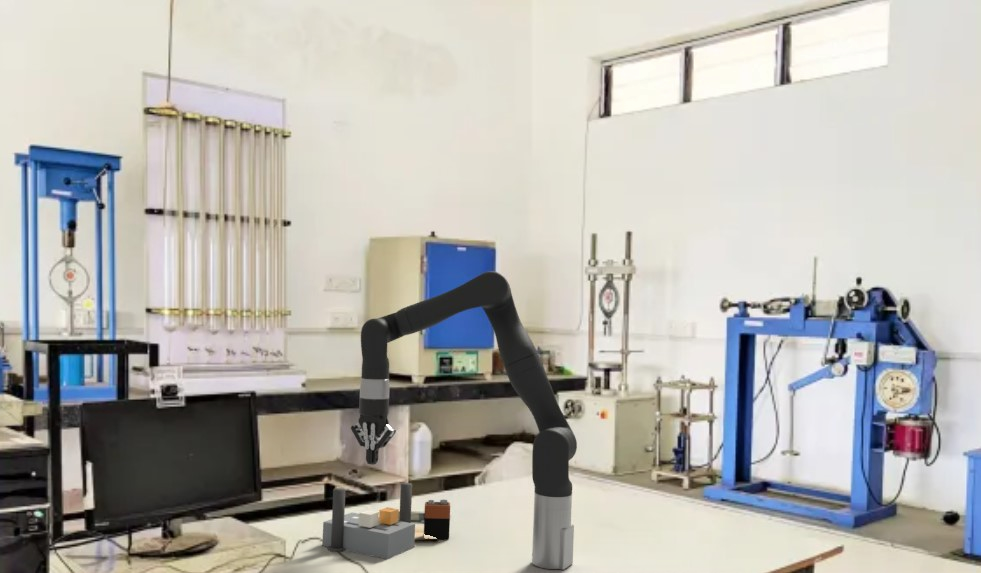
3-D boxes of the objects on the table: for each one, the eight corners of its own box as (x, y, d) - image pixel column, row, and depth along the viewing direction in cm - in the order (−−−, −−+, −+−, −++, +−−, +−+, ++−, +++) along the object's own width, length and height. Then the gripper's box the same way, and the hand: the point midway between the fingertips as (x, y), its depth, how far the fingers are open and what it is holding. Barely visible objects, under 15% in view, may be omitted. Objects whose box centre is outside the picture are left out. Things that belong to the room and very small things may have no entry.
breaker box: (414, 547, 214) (415, 523, 214) (387, 559, 204) (388, 533, 204) (351, 535, 223) (352, 512, 224) (322, 545, 213) (323, 521, 213)
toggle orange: (398, 521, 214) (398, 509, 214) (390, 524, 211) (390, 512, 211) (386, 519, 216) (387, 507, 216) (378, 522, 213) (379, 510, 213)
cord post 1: (349, 548, 211) (351, 489, 211) (338, 553, 207) (341, 492, 207) (335, 545, 213) (337, 486, 213) (324, 550, 209) (326, 489, 209)
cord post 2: (415, 540, 220) (418, 483, 220) (406, 544, 216) (409, 486, 217) (401, 538, 222) (404, 481, 223) (392, 542, 218) (394, 484, 219)
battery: (449, 540, 222) (450, 502, 222) (423, 539, 222) (424, 501, 222) (448, 535, 226) (450, 498, 227) (423, 535, 226) (425, 498, 226)
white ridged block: (378, 524, 211) (378, 512, 211) (370, 527, 208) (370, 514, 208) (366, 522, 212) (367, 509, 212) (358, 525, 209) (359, 512, 209)
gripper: (404, 397, 215) (401, 464, 214) (362, 393, 221) (359, 458, 220) (387, 399, 208) (384, 469, 208) (344, 395, 214) (341, 463, 214)
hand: (371, 463), depth 214 cm, fingers closed
